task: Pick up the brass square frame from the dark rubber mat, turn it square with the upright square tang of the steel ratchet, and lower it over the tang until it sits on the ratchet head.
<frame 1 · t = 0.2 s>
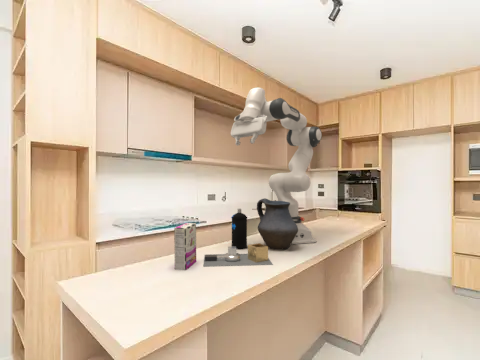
hand: (244, 144, 123), 52 cm above the counter, tool tilted 20°, fingers open, 8 cm apart
candy bar box: (185, 266, 104), on the counter
pitcher: (275, 247, 134), on the counter
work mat: (236, 260, 112), on the counter
ratchet: (232, 259, 112), resting on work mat
aerosol can: (239, 248, 132), on the counter
brass square frame: (257, 259, 112), resting on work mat
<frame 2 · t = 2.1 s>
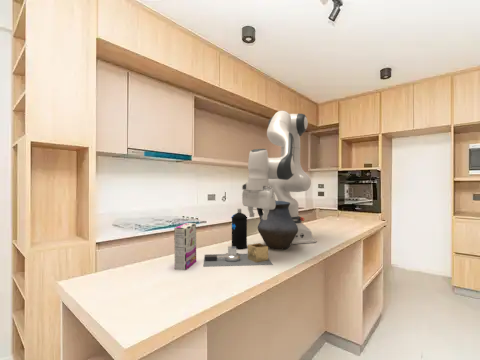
hand: (257, 218, 112), 18 cm above the counter, tool pointing down, fingers open, 8 cm apart
nothing on the counter moved.
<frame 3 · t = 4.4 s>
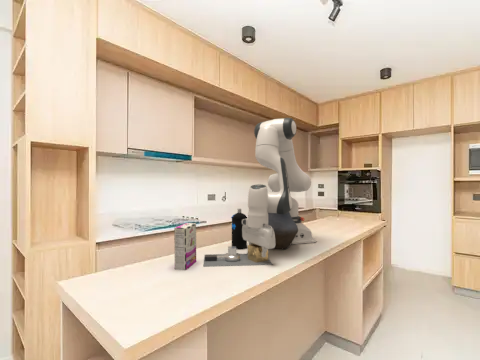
hand: (257, 254, 112), 2 cm above the counter, tool pointing down, fingers closed on brass square frame, 6 cm apart
brass square frame: (257, 259, 112), resting on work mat, touching gripper
everything else where it was.
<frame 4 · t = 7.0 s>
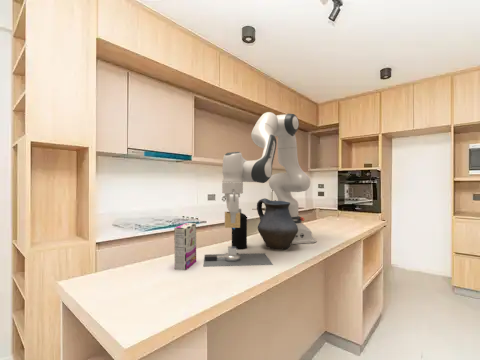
hand: (232, 221, 112), 17 cm above the counter, tool pointing down, fingers closed on brass square frame, 6 cm apart
brass square frame: (232, 226, 112), point 15 cm above the counter, touching gripper
everything else where it was.
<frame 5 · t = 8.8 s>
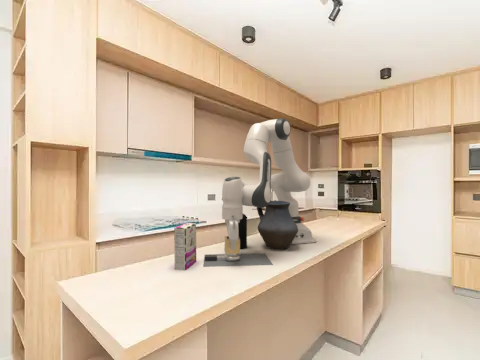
hand: (232, 246, 112), 6 cm above the counter, tool pointing down, fingers closed on brass square frame, 6 cm apart
brass square frame: (232, 251, 112), point 4 cm above the counter, touching gripper
everything else where it was.
when the fingers open (6 cm above the counter, at t = 10.0 s): brass square frame drops 1 cm, resting on ratchet.
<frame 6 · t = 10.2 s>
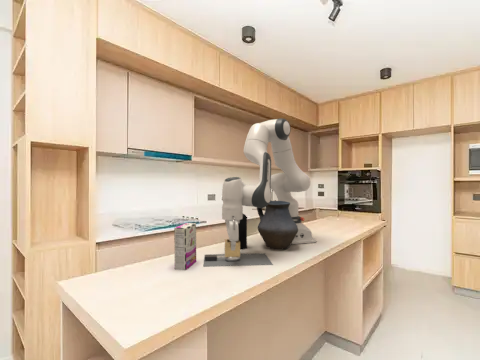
hand: (232, 247, 112), 6 cm above the counter, tool pointing down, fingers open, 8 cm apart
brass square frame: (232, 254, 112), point 2 cm above the counter, touching ratchet
everything else where it was.
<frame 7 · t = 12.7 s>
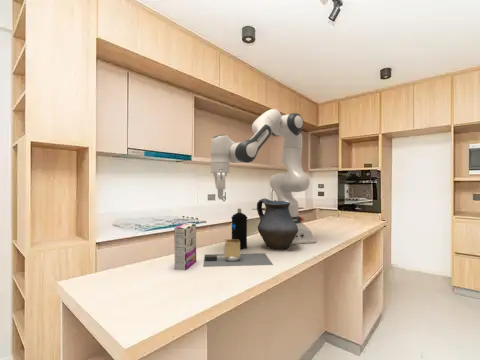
hand: (220, 198, 123), 26 cm above the counter, tool pointing down, fingers open, 8 cm apart
nothing on the counter moved.
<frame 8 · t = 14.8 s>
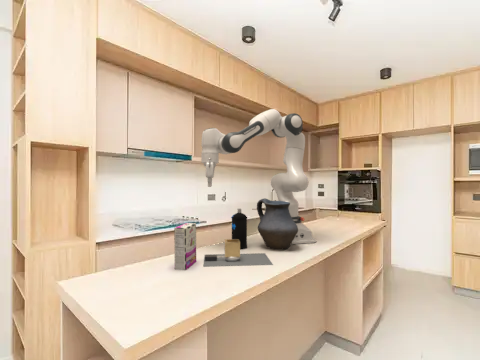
hand: (209, 186, 134), 31 cm above the counter, tool pointing down, fingers open, 8 cm apart
nothing on the counter moved.
at the end: brass square frame 0.1 cm from the ratchet (horizontally); brass square frame point 2.4 cm above the counter; brass square frame tilted 0° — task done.
